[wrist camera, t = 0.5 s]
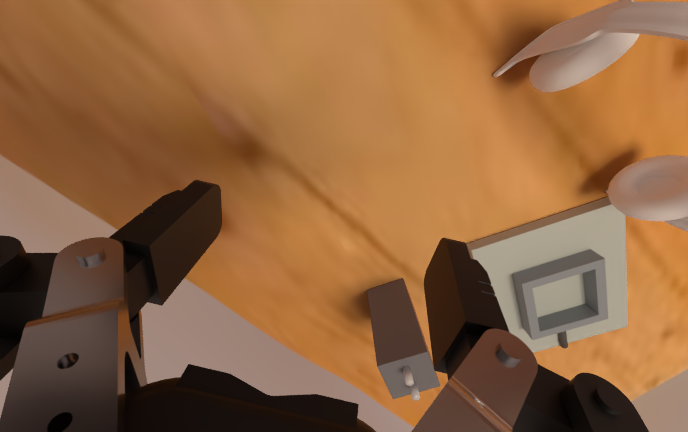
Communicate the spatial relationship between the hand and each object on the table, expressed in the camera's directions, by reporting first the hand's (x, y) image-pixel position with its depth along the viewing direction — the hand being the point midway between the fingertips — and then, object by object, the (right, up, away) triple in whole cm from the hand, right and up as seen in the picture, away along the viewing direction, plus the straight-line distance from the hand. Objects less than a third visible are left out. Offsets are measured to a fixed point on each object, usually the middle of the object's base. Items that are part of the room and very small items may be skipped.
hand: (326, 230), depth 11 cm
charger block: (+6, -10, +27) cm, 29 cm away
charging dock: (+25, -8, +26) cm, 37 cm away
